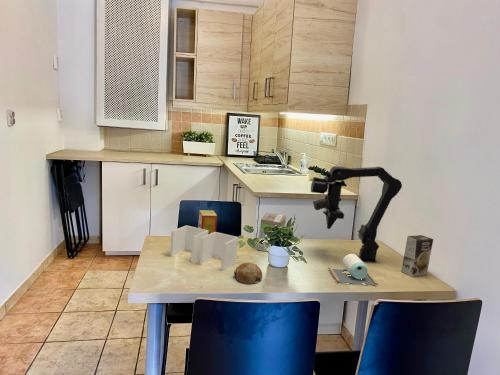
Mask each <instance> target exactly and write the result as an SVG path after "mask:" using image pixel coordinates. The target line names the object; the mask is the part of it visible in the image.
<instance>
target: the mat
mask: <svg viewBox="0 0 500 375" xmlns="http://www.w3.org/2000/svg"><path fill="white" fill-rule="evenodd" d="M328 269H329V270H328ZM327 270H328V272H329V271H330V272H331V273H330V272H329V273H330V275H331V274H332V275H333V276H332V275H331V276H332V278H333V277H334V278H333V280H334V279H335V280H336V281H335V280H334V281H335V283H336V282H337V283H336V284H339V283H349V284H348V285H353V284H362V283H365V284H366V285H365V286H368V285H378V286H379V282H378V281H377V280H376V279H375V278H374V277H373V275H371V274H372V273H370V272H369V271H367V275H366V277H365V278H363V279H362V280H361V279H355V278H353V277H352V276H347V275H350V274H346V273H342V272H344V271H347V270H346V269H343V270H342V269H341V268H332V267H331V266H328V268H327Z"/></svg>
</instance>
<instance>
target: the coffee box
mask: <svg viewBox="0 0 500 375" xmlns="http://www.w3.org/2000/svg"><path fill="white" fill-rule="evenodd" d="M406 237H407V238H406V243H405V248H404V254H403V258H402V259H403V260H402V266H401V269H400V270H401V273H404V274H405V275H408V276H410V277H412V278H414V277H421V276H427V275H428V270H429V264H430V260H431V255H432V254H431V253H432V248H433V243H434V238H432V237H428V236H425V235H423V234H420V235H419V234H418V235H407V236H406Z"/></svg>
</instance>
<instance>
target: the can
mask: <svg viewBox="0 0 500 375" xmlns="http://www.w3.org/2000/svg"><path fill="white" fill-rule="evenodd" d="M342 265H343V267H344V269H345V270H347V271H348V272H349V273H350V275H351V276H352V277H353V278H355V279H363V278H365V277H366V275H367V271H368V266H367V265H366V263H364V261H362V260H361V259H360V258H359V255H357V254H355V253H349V254H348V253H347V254H346V255H345V256H344V257H343V258H342ZM368 272H369V271H368Z"/></svg>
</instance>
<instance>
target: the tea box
mask: <svg viewBox="0 0 500 375" xmlns="http://www.w3.org/2000/svg"><path fill="white" fill-rule="evenodd" d="M286 217H287V216H286V215H285V214H278V213H271V212H266V213H264V215H263V216H262V217H261V219H260V224H259V225H260V226H259V234H258V239H259V238H261V237H265V234H264V232H263V229H264V228H265V227H274V226H275V225H277V226H278V227H284V228H285V224H286ZM263 241H264V240H261V241H260V242H259V243H257V250H258V251H261V252H267V251H266V249H265V246H264V244H263V243H262V242H263Z"/></svg>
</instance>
